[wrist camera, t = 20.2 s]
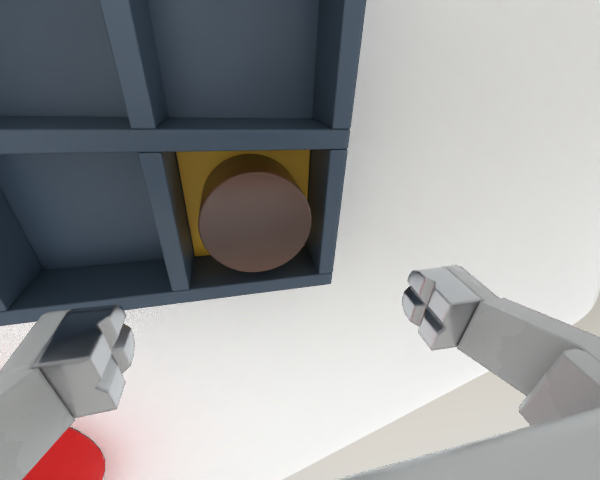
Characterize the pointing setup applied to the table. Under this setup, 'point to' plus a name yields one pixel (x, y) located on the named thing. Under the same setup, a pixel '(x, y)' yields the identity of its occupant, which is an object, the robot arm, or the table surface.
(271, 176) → the cylinder
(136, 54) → the grid
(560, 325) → the robot arm
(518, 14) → the table surface
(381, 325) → the table surface
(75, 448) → the toy clock
